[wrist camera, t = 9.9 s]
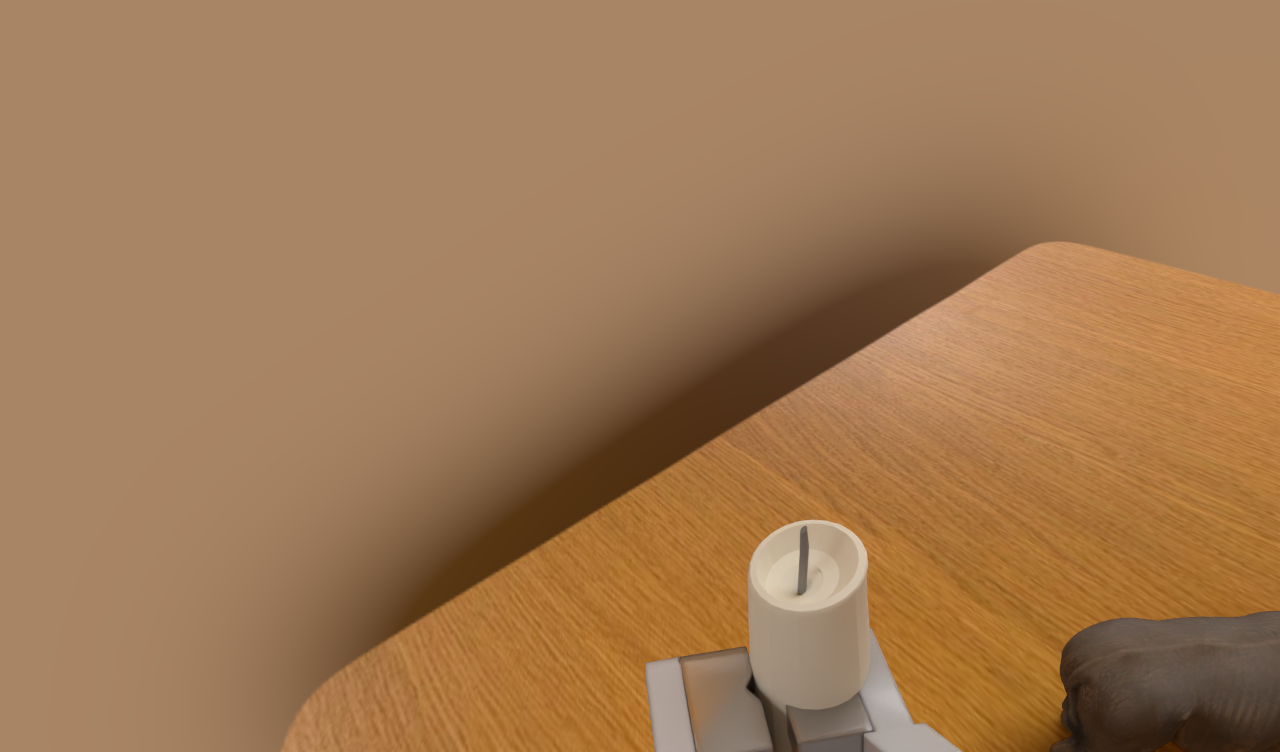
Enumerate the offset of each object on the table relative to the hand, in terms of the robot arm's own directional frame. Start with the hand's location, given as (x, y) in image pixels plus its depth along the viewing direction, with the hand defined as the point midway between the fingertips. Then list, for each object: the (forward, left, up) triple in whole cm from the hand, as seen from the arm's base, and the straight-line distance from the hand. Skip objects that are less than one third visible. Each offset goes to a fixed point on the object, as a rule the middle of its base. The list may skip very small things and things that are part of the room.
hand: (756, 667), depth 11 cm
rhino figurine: (+17, +6, -17) cm, 25 cm away
